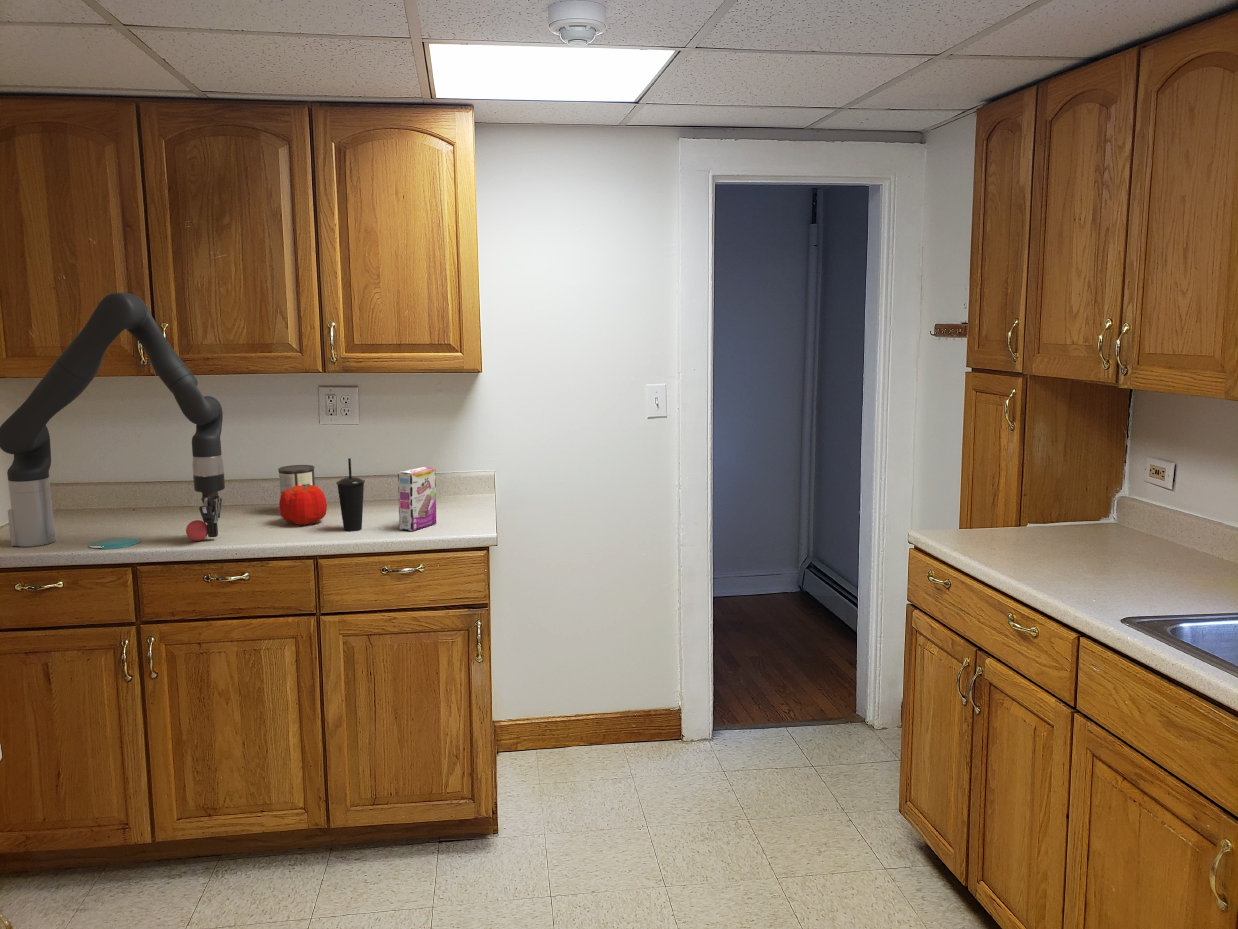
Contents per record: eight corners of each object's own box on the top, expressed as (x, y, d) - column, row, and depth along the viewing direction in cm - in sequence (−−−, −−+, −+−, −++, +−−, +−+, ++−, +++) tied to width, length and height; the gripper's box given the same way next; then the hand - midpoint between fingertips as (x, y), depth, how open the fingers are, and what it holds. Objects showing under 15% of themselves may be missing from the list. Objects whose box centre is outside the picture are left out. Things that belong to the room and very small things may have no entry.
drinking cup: (365, 531, 261) (362, 460, 258) (337, 533, 260) (333, 461, 257) (368, 525, 269) (365, 456, 266) (340, 527, 268) (336, 456, 264)
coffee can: (294, 509, 293) (291, 464, 290) (323, 510, 290) (321, 465, 288) (273, 516, 283) (270, 469, 281) (304, 517, 280) (301, 470, 278)
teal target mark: (80, 550, 243) (80, 549, 243) (99, 539, 254) (99, 538, 254) (130, 548, 244) (130, 547, 244) (146, 537, 256) (146, 536, 256)
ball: (197, 547, 250) (178, 535, 249) (203, 542, 255) (185, 530, 254) (209, 530, 250) (191, 518, 248) (215, 525, 255) (197, 514, 254)
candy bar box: (413, 532, 261) (411, 473, 258) (398, 530, 263) (396, 472, 261) (438, 524, 271) (436, 467, 268) (423, 522, 273) (421, 466, 271)
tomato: (287, 518, 280) (285, 483, 278) (333, 517, 280) (331, 482, 279) (273, 528, 266) (271, 491, 264) (321, 527, 267) (319, 491, 265)
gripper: (200, 468, 256) (205, 531, 259) (185, 477, 243) (191, 543, 246) (229, 468, 257) (234, 530, 260) (216, 476, 244) (221, 542, 247)
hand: (213, 536), depth 253 cm, fingers closed
